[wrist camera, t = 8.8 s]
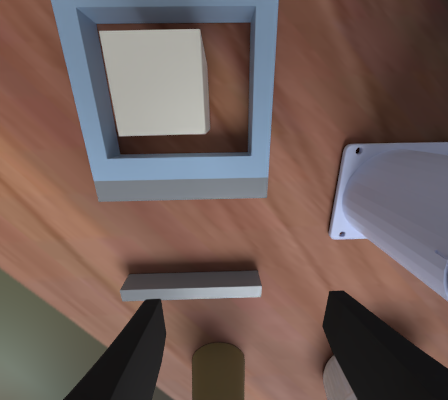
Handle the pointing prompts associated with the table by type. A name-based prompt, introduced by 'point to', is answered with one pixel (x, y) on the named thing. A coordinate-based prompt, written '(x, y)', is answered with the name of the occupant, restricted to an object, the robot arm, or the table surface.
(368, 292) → the table surface
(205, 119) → the cream white block
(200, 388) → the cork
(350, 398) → the ramekin
